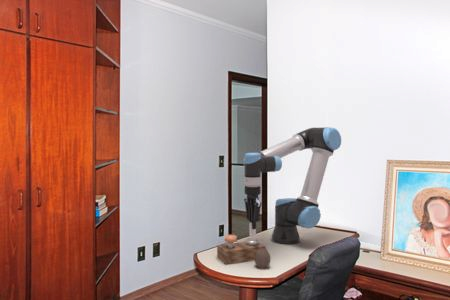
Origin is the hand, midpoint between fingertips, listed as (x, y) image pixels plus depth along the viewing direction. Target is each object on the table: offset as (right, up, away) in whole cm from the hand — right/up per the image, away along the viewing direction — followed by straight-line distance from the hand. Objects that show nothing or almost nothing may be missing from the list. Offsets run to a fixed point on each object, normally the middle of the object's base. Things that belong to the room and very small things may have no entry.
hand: (252, 235), depth 172 cm
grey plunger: (0, -9, 0) cm, 9 cm away
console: (-6, -10, -2) cm, 12 cm away
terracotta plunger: (-10, -6, -5) cm, 13 cm away
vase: (+3, -11, -13) cm, 17 cm away
